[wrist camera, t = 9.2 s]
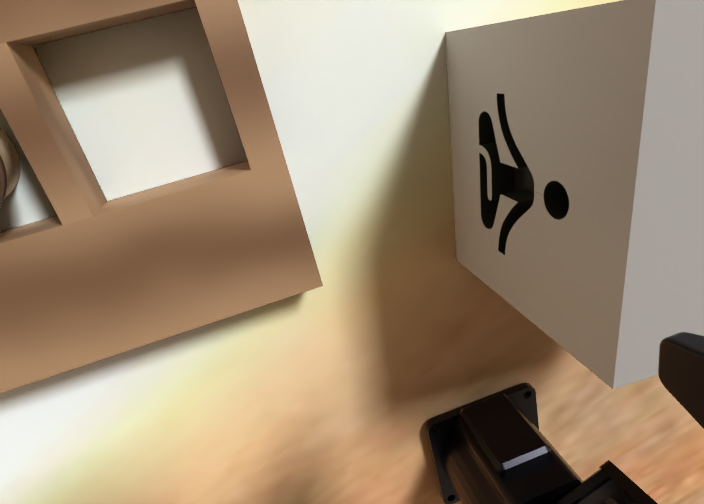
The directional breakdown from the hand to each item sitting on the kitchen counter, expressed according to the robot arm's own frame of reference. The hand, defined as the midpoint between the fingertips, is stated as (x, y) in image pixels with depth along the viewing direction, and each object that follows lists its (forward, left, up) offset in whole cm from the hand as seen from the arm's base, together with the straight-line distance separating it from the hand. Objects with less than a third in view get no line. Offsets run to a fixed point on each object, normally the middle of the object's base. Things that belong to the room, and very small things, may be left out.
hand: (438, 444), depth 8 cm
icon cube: (0, -12, -13) cm, 18 cm away
